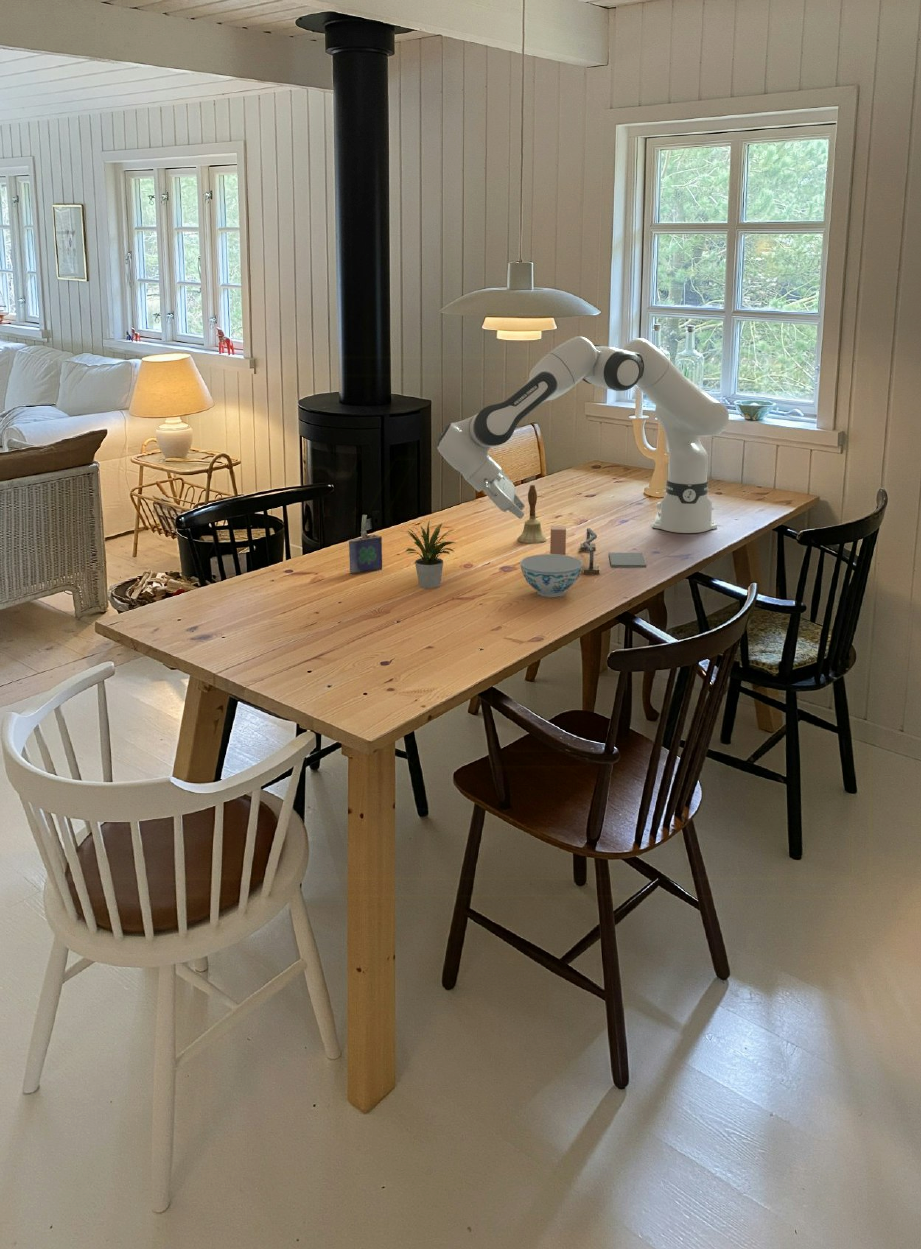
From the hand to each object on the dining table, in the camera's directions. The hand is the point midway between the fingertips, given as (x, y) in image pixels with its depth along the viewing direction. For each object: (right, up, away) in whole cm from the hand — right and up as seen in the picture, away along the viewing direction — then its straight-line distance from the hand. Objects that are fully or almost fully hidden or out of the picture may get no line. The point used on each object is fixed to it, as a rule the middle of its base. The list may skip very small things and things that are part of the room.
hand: (522, 512), depth 291 cm
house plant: (-25, -20, -18) cm, 37 cm away
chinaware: (+5, -22, -24) cm, 33 cm away
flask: (-41, -16, -4) cm, 44 cm away
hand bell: (+4, -6, +24) cm, 25 cm away
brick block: (+10, -12, +4) cm, 16 cm away
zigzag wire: (+18, -13, +3) cm, 22 cm away
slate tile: (+28, -13, +2) cm, 31 cm away
